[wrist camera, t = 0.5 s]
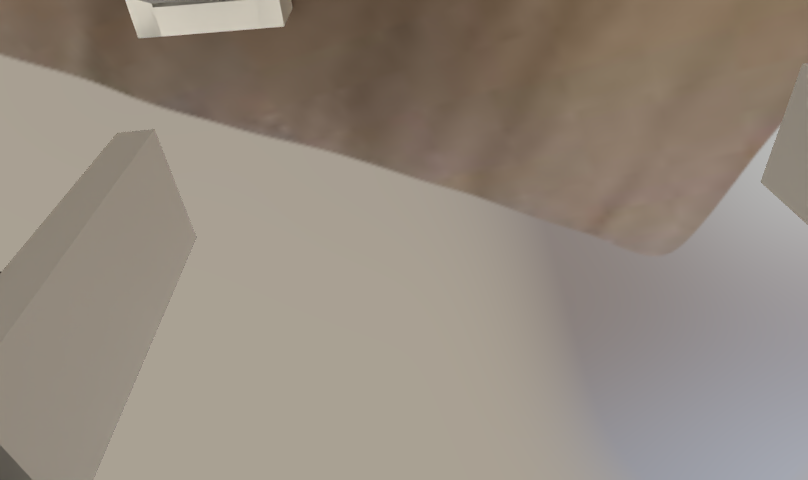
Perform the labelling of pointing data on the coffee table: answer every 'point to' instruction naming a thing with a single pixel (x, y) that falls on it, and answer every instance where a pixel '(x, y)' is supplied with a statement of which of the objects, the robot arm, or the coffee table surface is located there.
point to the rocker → (160, 1)
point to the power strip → (206, 16)
